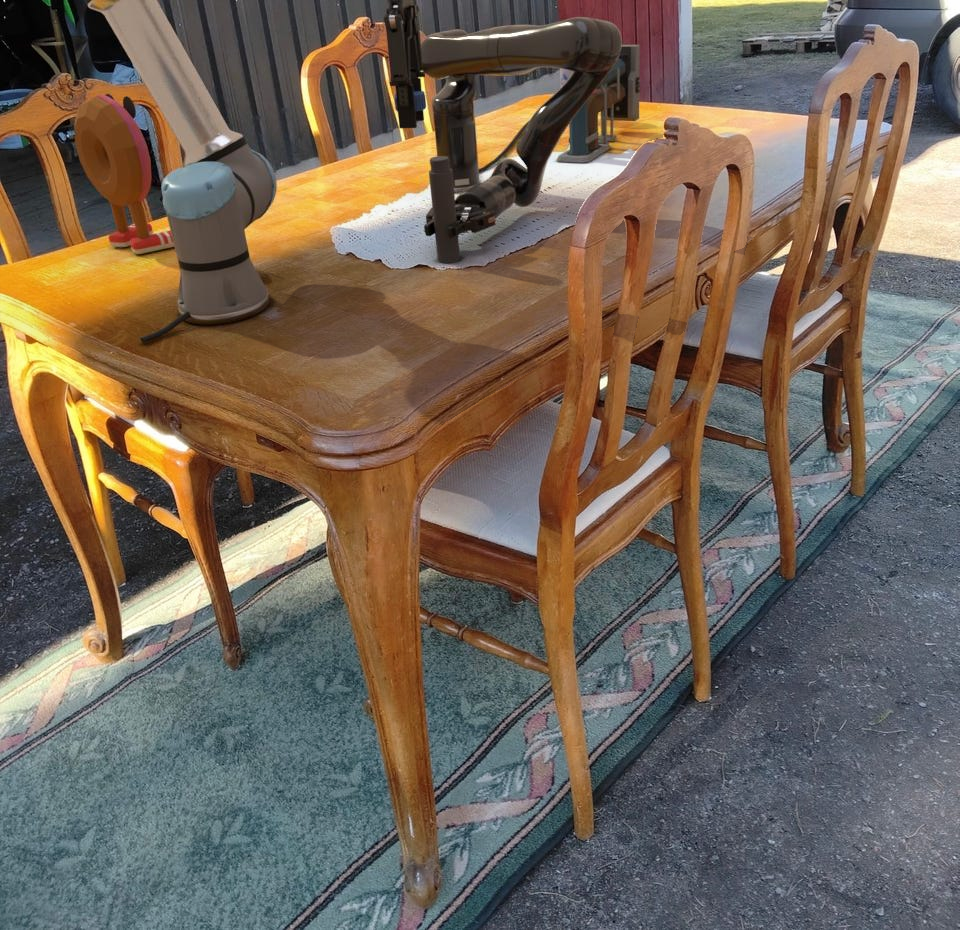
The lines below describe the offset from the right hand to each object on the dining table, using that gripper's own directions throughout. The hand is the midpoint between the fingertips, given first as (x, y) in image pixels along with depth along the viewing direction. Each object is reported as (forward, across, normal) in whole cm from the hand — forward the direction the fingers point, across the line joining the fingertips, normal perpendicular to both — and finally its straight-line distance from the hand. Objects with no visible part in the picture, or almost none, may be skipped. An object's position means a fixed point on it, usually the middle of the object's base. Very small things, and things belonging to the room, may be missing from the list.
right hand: (438, 231), depth 175 cm
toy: (+6, -68, +6) cm, 69 cm away
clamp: (-92, -4, +6) cm, 92 cm away
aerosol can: (-121, -22, +6) cm, 123 cm away
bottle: (-3, 0, +6) cm, 7 cm away
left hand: (+7, +1, -20) cm, 22 cm away
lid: (+7, +1, -25) cm, 26 cm away
